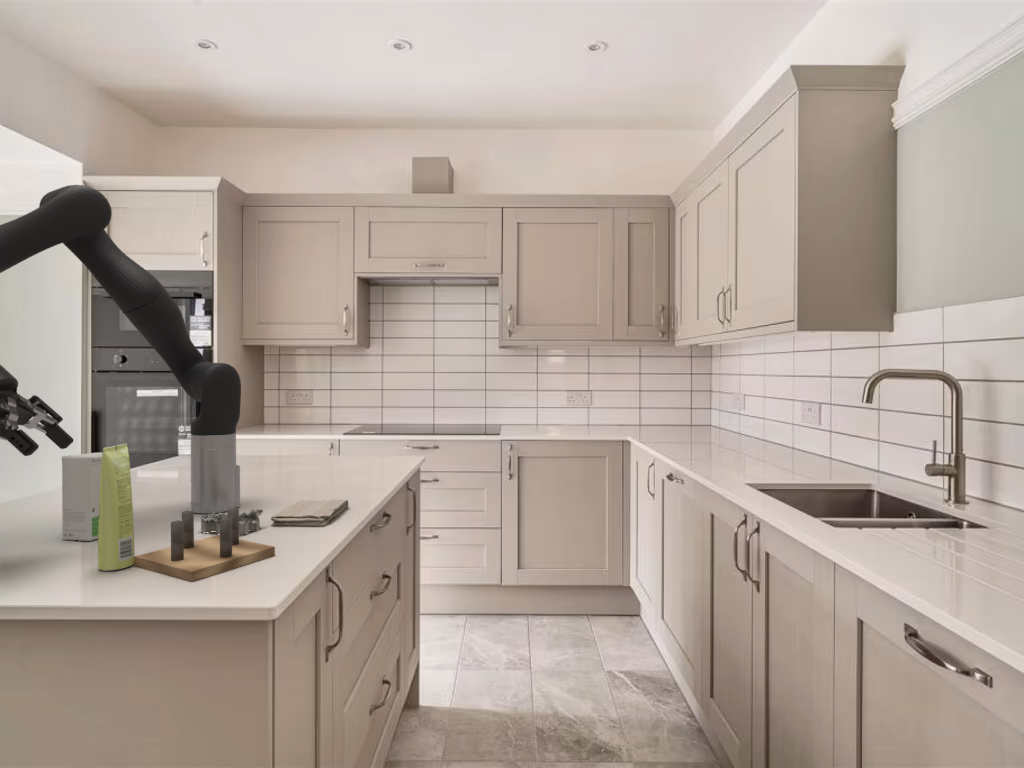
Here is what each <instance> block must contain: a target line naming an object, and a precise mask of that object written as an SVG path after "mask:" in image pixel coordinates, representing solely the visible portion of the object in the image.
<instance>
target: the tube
mask: <svg viewBox="0 0 1024 768" xmlns="http://www.w3.org/2000/svg"><path fill="white" fill-rule="evenodd" d="M102 453H103V454H102V461H101V475H100V492H99V525H98V540H97V544H98V545H97V566H98V567H97V568H98V569H99V570H100V571H104V572H109V571H117V570H123V569H125V568H126V569H127V568H128V567H131V566H134V556H136V555H135V528H134V527H135V526H134V509H133V507H134V506H133V490H132V477H131V465H130V464H131V463H130V461H131V460H130V454H129V448H128V443H123V444H117V445H113V446H107V447H103V449H102Z"/></svg>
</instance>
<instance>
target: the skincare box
mask: <svg viewBox="0 0 1024 768" xmlns="http://www.w3.org/2000/svg"><path fill="white" fill-rule="evenodd" d="M102 454H103V452H101V451H99V452H91V453H79V454H72V455H71V454H69V455H62V456H61V467H62V468H61V469H62V470H61V473H62V475H61V477H62V478H61V481H62V483H61V486H62V487H61V488H62V489H61V490H62V491H61V492H62V495H61V497H62V498H61V499H62V502H61V503H62V505H61V506H62V507H61V508H62V511H61V513H62V514H61V515H62V519H61V520H62V523H61V525H62V528H61V529H62V537H61V538H62V540H66V541H75V540H78V542H91V541H95V540H97V539H98V525H99V492H100V475H101V461H102Z"/></svg>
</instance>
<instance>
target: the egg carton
mask: <svg viewBox="0 0 1024 768" xmlns="http://www.w3.org/2000/svg"><path fill="white" fill-rule="evenodd" d="M263 513H264V511H263V509H259V508H258V509H251V510H249V512H247V511H244V512H242V513H239V536H241V535H240V534H246V535H248V534H247V533H249V532H250V531H249V530H254V531H259V530H260V529H261V526H260V525H261V524H260V523H261V522H260V521H261V520H260V517H259V516H261V515H262V514H263ZM197 517H198V518H200V531H201V530H202V531H201V533H202V532H211V531H216V532H215V533H217V534H220V519H222V518H227V514H225V512H218V513H217V514H216V513H215V512H214V513H203V515H198V514H197ZM258 529H259V530H258ZM211 533H212V532H211ZM217 534H216V535H217Z"/></svg>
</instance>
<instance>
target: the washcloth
mask: <svg viewBox="0 0 1024 768" xmlns="http://www.w3.org/2000/svg"><path fill="white" fill-rule="evenodd" d="M348 509H349V501H348V499H327V500H326V499H324V500H315V499H314V500H313V499H311V500H310V499H309V500H307V499H306V500H304V499H303V500H298V501H296V502H294V503H293V504H290V505H289V506H287V507H285V508H282V510H280V511H279V512H277V513H275V514H273V515H272V516H271V518H270V521H272V523H271V524H270V527H279V528H280V527H281V528H282V527H284V528H286V527H287V528H295V527H298V528H302V527H303V528H309V527H310V528H320V527H321V528H322V527H325V526H327V525H329V524H331V523H332V522H334V521H335V520H336V519H337V518H338V517H340V516H341V515H342V514H343V513H344V512H346V511H347V510H348Z"/></svg>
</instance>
